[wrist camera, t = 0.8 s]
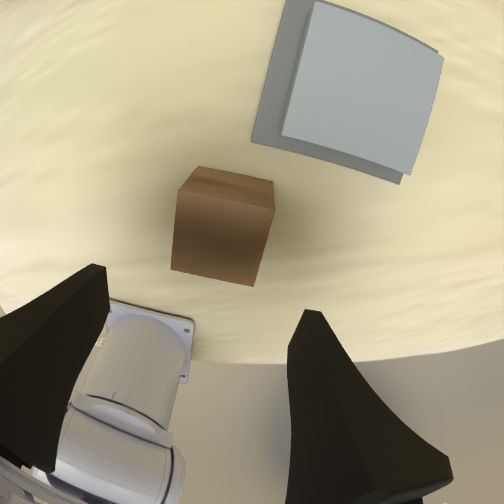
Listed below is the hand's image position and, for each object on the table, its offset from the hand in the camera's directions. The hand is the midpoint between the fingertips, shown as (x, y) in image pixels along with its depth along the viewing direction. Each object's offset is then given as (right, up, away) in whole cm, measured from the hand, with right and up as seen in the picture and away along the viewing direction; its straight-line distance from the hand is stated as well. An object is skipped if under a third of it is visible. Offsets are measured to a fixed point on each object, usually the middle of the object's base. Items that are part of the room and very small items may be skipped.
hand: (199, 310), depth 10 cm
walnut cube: (0, +5, +8) cm, 9 cm away
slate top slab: (+7, +11, +3) cm, 13 cm away
